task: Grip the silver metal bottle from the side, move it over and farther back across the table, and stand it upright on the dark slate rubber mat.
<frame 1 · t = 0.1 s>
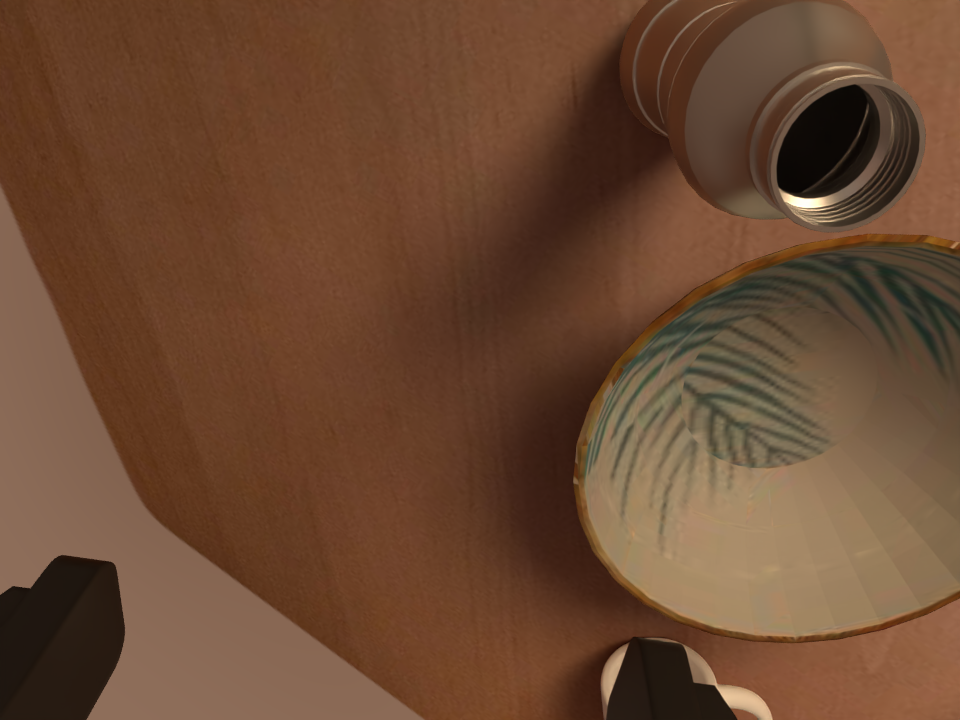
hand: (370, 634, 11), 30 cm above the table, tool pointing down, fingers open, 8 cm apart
bowl: (775, 388, 44), on the table
mug: (677, 675, 57), on the table
silver metal bottle: (680, 53, 35), on the table
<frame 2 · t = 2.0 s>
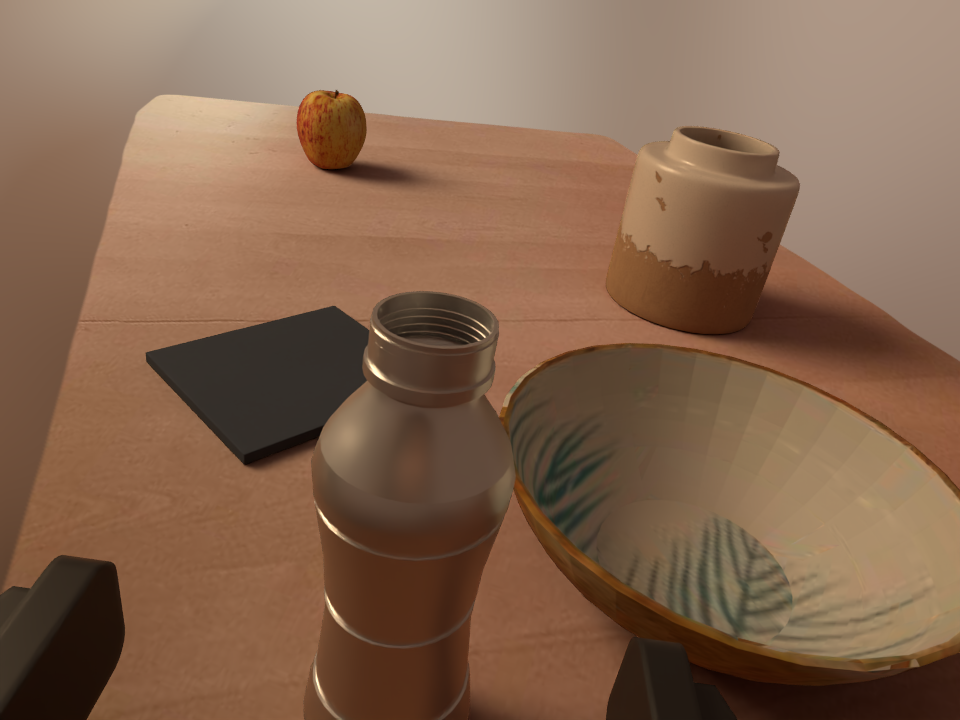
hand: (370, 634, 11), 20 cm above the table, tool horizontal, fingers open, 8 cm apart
bowl: (689, 571, 42), on the table
apple: (330, 167, 99), on the table
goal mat: (296, 376, 54), on the table
vase: (676, 302, 76), on the table
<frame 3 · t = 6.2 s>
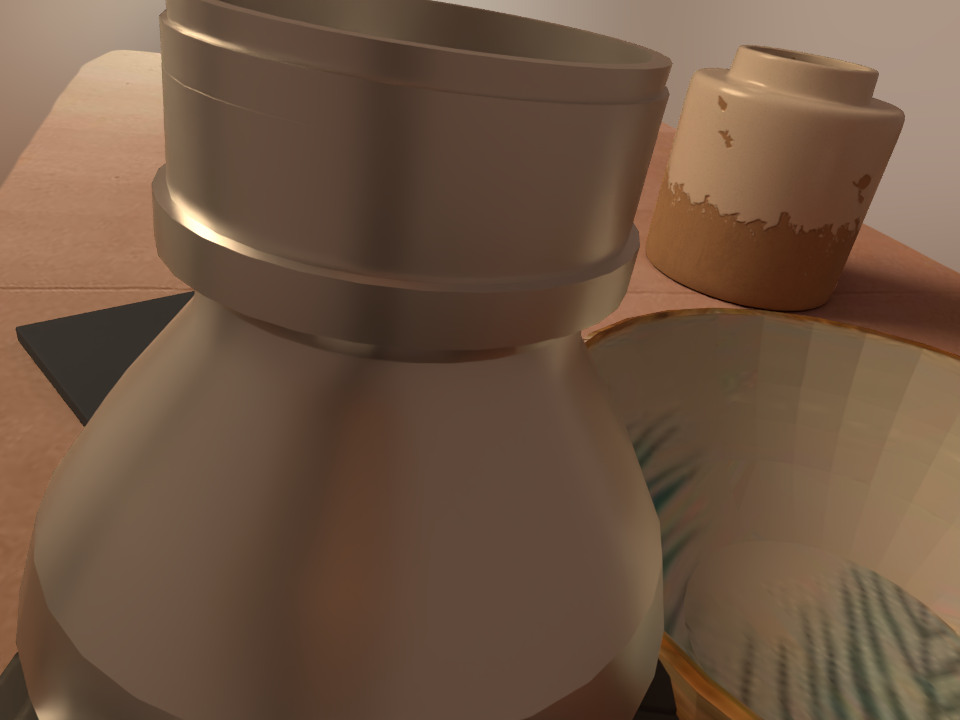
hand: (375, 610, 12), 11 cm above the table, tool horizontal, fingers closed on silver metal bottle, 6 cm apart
bowl: (833, 661, 27), on the table
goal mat: (234, 361, 38), on the table
vase: (733, 273, 61), on the table
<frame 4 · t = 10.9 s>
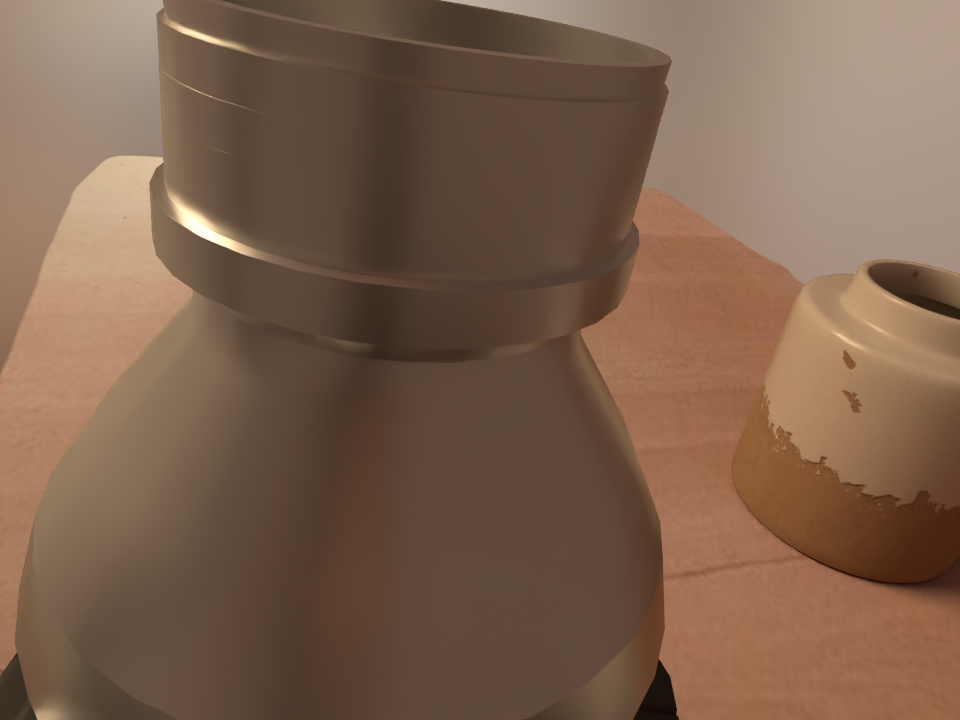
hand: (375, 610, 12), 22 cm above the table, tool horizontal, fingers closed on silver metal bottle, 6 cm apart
vase: (836, 505, 52), on the table
when the fingers open (12 cm above the table, at t = 15.6 s): silver metal bottle stays where it is, resting on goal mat.
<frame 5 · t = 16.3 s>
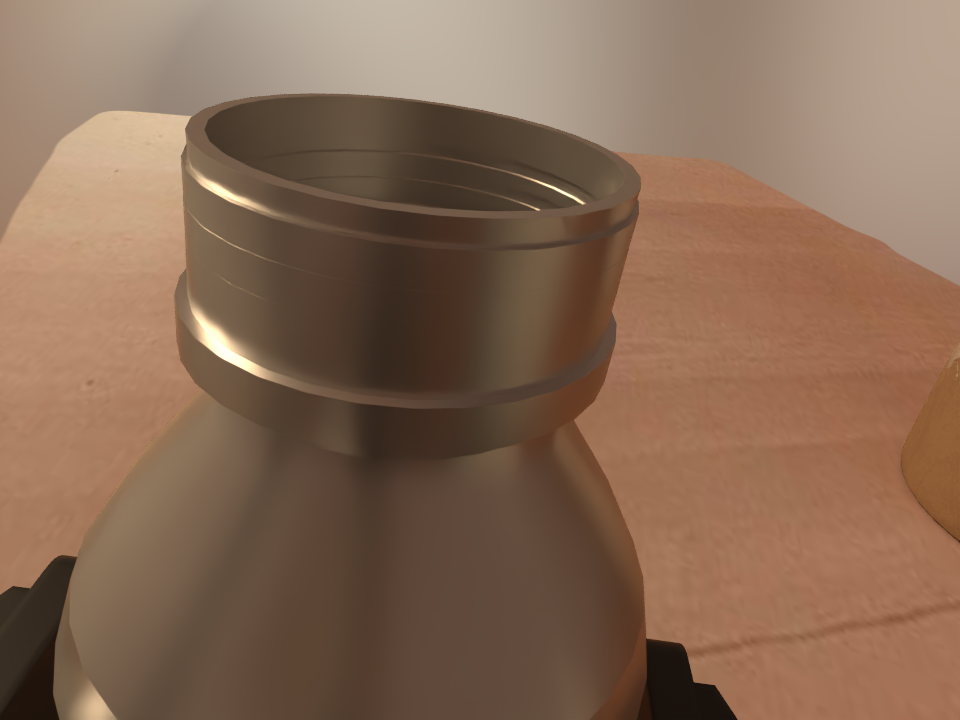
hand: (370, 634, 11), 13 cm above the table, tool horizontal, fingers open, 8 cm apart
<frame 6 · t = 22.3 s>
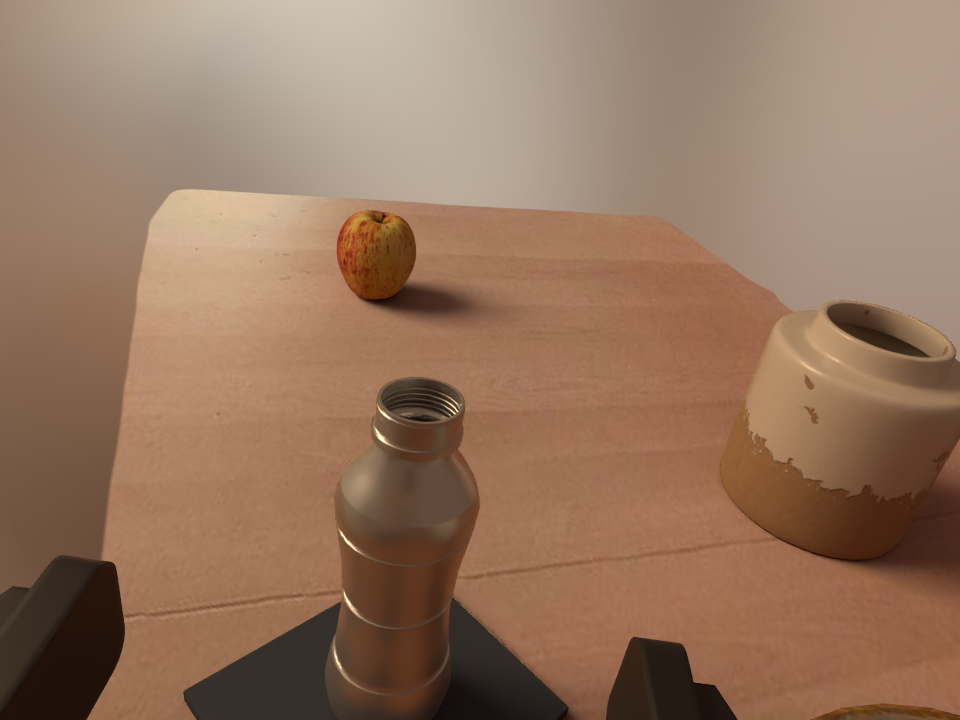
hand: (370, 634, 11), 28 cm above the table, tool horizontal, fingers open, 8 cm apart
apple: (374, 294, 86), on the table
silver metal bottle: (384, 703, 40), point 1 cm above the table, touching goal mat
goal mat: (381, 708, 41), on the table
vase: (805, 498, 64), on the table
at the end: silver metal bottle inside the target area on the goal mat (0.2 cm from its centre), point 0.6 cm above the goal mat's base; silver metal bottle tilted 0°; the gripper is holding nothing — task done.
